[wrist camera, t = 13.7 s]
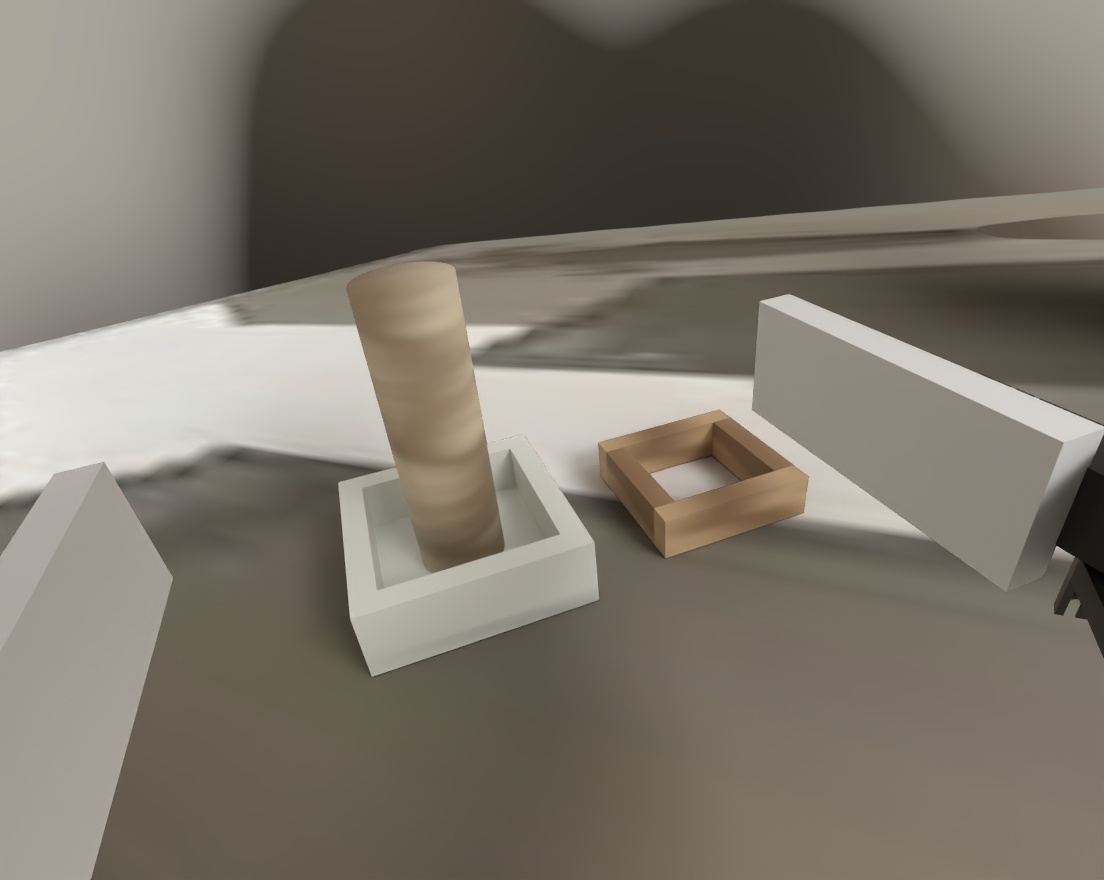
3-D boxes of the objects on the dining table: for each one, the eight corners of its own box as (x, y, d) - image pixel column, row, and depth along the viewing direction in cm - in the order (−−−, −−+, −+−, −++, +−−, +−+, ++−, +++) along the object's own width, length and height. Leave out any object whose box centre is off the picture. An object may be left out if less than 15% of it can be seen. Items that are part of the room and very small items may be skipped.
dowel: (492, 513, 29) (443, 255, 22) (514, 562, 26) (466, 281, 19) (415, 536, 28) (342, 274, 21) (430, 589, 25) (350, 304, 18)
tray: (530, 483, 32) (523, 433, 30) (599, 600, 25) (594, 542, 23) (355, 532, 30) (338, 482, 28) (372, 676, 22) (349, 619, 21)
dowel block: (717, 441, 34) (719, 409, 33) (803, 512, 28) (808, 476, 27) (600, 475, 32) (598, 442, 31) (665, 558, 26) (665, 521, 25)
